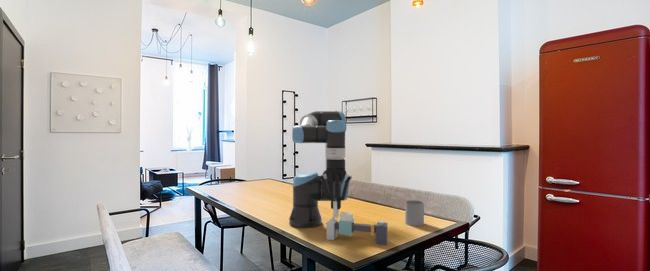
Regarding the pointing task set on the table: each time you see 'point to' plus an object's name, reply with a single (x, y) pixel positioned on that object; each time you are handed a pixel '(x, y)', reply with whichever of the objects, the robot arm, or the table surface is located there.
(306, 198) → the robot arm
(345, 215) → the sleeve
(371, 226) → the slider rail
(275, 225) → the table surface
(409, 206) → the cup
